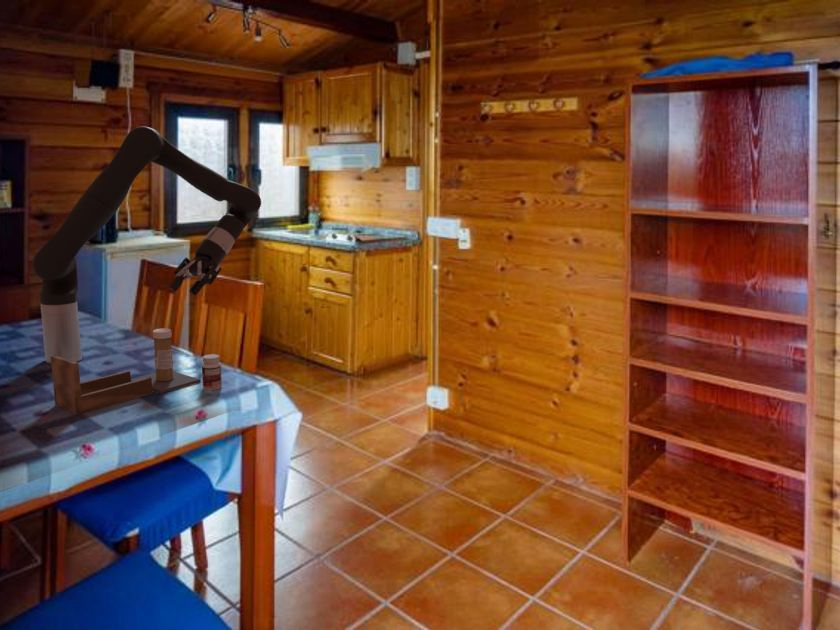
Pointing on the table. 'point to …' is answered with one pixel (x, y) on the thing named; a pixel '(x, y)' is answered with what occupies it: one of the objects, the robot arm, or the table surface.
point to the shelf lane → (93, 387)
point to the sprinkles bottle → (163, 354)
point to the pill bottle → (211, 372)
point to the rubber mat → (170, 382)
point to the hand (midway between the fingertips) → (182, 291)
